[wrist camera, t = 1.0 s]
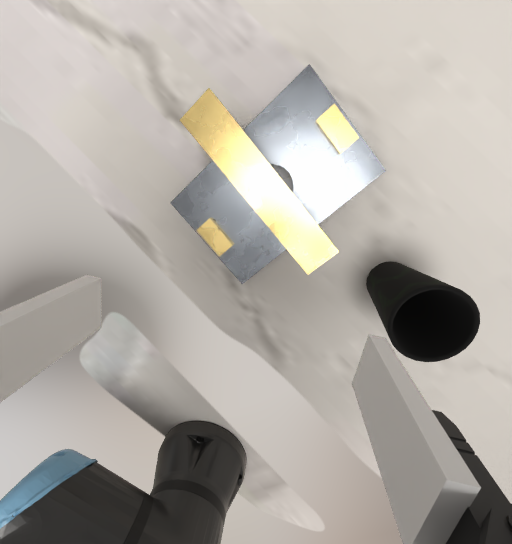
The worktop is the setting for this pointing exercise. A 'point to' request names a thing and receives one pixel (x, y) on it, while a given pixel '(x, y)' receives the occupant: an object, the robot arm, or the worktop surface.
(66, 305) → the robot arm
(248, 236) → the plate
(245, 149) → the flat gold bar
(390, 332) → the cup
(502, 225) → the worktop surface
